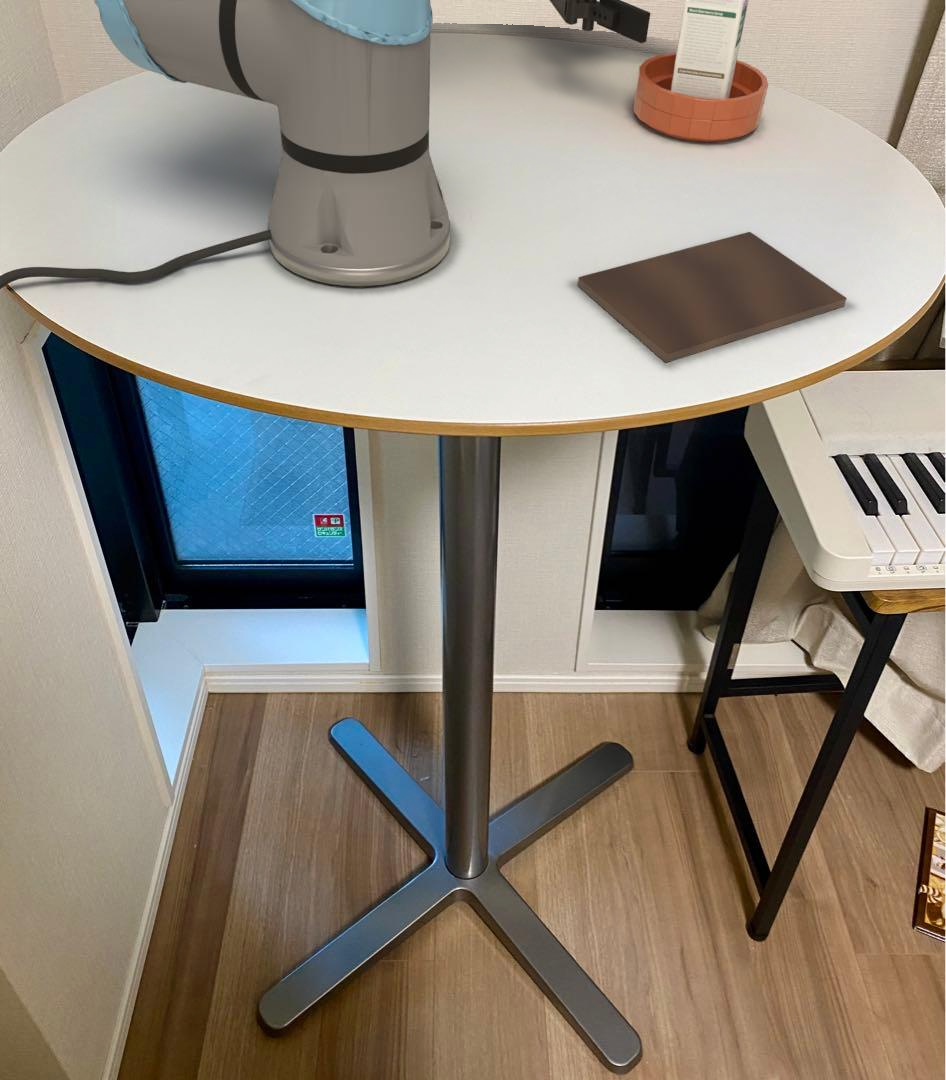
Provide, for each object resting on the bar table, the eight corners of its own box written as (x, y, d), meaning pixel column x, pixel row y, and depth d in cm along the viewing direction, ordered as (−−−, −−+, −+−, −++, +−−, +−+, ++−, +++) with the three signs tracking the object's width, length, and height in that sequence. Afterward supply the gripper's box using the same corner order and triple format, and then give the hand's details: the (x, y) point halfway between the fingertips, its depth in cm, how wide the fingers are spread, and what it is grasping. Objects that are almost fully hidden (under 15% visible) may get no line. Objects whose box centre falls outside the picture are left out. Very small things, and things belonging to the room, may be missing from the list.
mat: (665, 363, 74) (667, 353, 73) (577, 285, 81) (578, 276, 80) (844, 306, 80) (847, 297, 80) (747, 239, 87) (749, 231, 87)
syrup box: (719, 128, 103) (753, -27, 92) (663, 118, 104) (690, -36, 94) (727, 108, 107) (760, -44, 96) (673, 99, 108) (699, -52, 97)
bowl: (683, 154, 99) (691, 109, 96) (608, 106, 107) (614, 62, 104) (783, 132, 104) (794, 88, 101) (704, 87, 112) (713, 45, 109)
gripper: (632, -19, 120) (766, 34, 109) (468, 16, 109) (598, 79, 98) (642, -91, 115) (783, -43, 103) (471, -62, 104) (608, -5, 92)
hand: (694, 16), depth 101 cm, fingers open, 13 cm apart
